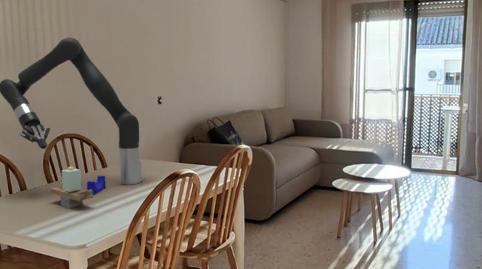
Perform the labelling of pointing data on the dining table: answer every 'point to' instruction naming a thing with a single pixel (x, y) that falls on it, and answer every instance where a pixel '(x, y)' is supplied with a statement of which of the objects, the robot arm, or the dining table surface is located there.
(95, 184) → the cable clip
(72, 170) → the block
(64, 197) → the beam
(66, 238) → the dining table surface
